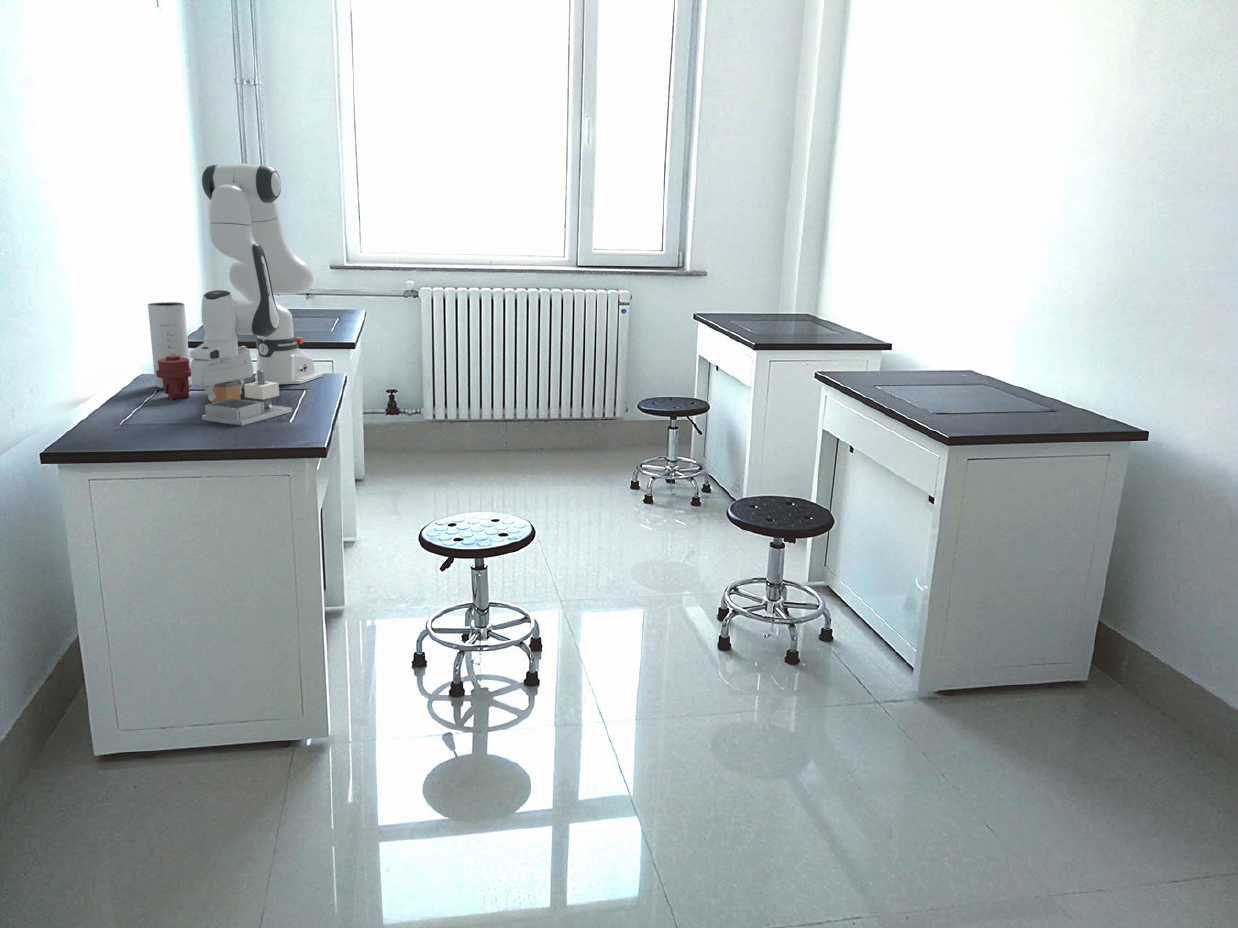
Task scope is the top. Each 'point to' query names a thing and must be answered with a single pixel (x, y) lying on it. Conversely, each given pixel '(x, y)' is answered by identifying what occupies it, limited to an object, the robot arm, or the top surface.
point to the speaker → (167, 333)
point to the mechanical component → (174, 376)
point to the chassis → (244, 409)
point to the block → (226, 391)
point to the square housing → (261, 390)
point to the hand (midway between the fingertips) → (225, 397)
